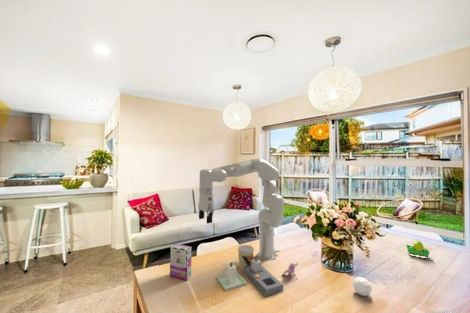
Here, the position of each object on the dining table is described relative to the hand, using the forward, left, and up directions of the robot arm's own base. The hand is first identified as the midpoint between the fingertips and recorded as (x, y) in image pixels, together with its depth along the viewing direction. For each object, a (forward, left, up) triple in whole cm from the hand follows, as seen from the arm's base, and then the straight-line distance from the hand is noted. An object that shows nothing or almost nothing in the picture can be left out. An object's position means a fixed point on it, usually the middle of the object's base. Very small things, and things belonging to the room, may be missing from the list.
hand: (205, 220), depth 116 cm
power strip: (-25, +21, -30) cm, 44 cm away
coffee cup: (-24, +5, -30) cm, 39 cm away
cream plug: (-10, +14, -29) cm, 34 cm away
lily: (-42, +24, -30) cm, 57 cm away
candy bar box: (+13, -3, -30) cm, 33 cm away
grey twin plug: (-25, +15, -29) cm, 41 cm away
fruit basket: (-139, +42, -30) cm, 148 cm away
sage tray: (-10, +14, -30) cm, 35 cm away
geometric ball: (-64, +50, -30) cm, 87 cm away
